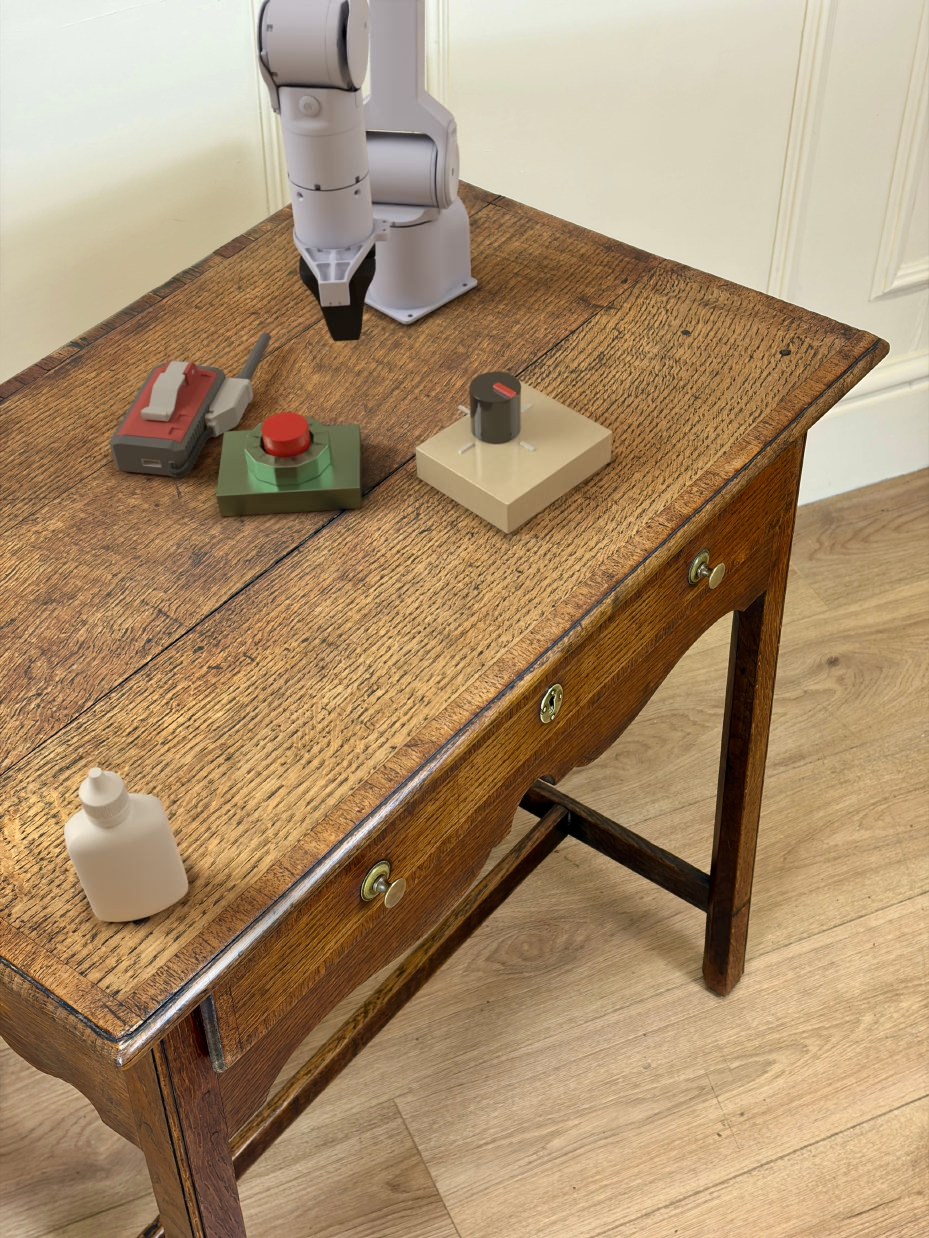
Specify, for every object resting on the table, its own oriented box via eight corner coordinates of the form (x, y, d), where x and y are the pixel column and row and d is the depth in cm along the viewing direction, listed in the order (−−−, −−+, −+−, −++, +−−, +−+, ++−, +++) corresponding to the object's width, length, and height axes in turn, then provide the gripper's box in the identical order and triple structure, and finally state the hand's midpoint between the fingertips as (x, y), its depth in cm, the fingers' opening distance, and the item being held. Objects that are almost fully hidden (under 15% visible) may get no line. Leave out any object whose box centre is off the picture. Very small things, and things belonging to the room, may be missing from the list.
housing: (361, 444, 107) (357, 405, 104) (362, 508, 101) (357, 469, 98) (227, 452, 107) (219, 413, 104) (220, 517, 101) (212, 477, 98)
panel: (510, 404, 110) (510, 373, 108) (610, 461, 104) (613, 429, 102) (407, 471, 104) (405, 439, 102) (507, 534, 99) (507, 503, 96)
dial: (460, 428, 103) (458, 384, 100) (495, 406, 105) (494, 361, 102) (496, 450, 101) (495, 405, 98) (531, 427, 103) (532, 382, 100)
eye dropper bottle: (109, 858, 79) (60, 734, 71) (198, 869, 79) (158, 745, 70) (83, 921, 76) (28, 799, 68) (175, 933, 76) (132, 811, 67)
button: (311, 428, 103) (308, 410, 101) (310, 457, 100) (307, 439, 99) (265, 431, 102) (262, 413, 101) (263, 460, 100) (260, 442, 99)
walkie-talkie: (209, 492, 103) (280, 348, 117) (200, 448, 100) (274, 306, 114) (105, 481, 104) (187, 340, 118) (92, 437, 101) (178, 298, 115)
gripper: (386, 221, 86) (399, 388, 96) (384, 121, 96) (396, 282, 106) (279, 226, 86) (304, 393, 96) (289, 126, 96) (310, 287, 106)
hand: (346, 335), depth 101 cm, fingers closed
